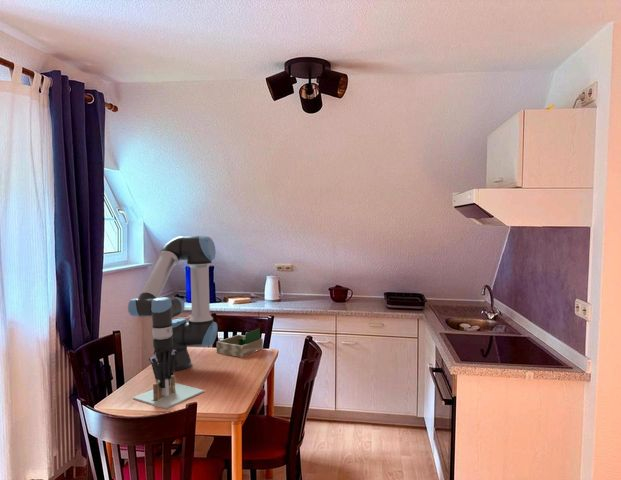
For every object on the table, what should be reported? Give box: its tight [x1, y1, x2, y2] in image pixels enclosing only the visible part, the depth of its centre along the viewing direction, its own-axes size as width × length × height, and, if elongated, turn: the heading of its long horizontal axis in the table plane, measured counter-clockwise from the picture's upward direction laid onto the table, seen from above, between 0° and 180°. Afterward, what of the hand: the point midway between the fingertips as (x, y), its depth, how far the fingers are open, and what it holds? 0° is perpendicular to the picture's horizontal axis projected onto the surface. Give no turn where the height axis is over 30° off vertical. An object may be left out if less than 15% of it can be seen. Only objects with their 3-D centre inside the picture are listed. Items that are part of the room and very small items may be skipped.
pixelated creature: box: [238, 328, 261, 346], centre depth 245 cm, size 12×12×12 cm
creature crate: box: [216, 334, 264, 358], centre depth 244 cm, size 18×18×6 cm
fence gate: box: [152, 379, 171, 401], centre depth 178 cm, size 10×2×7 cm, turn 159°
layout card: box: [132, 382, 205, 410], centre depth 182 cm, size 20×20×1 cm
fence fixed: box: [155, 374, 176, 393], centre depth 186 cm, size 11×2×8 cm, turn 58°
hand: (165, 394), depth 177 cm, fingers closed
